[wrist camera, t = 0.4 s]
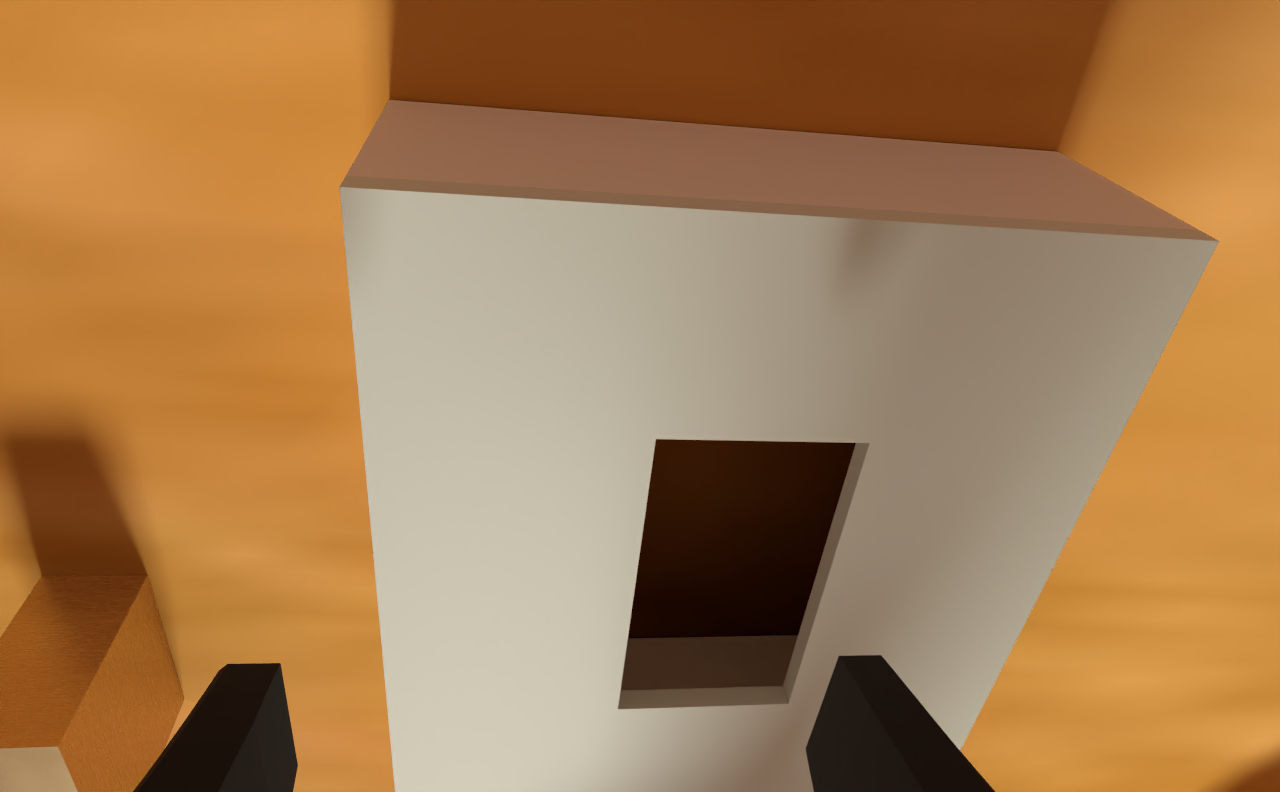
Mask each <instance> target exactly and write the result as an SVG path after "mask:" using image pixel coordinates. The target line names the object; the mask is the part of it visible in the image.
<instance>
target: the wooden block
mask: <svg viewBox="0 0 1280 792" xmlns="http://www.w3.org/2000/svg"><path fill="white" fill-rule="evenodd" d="M183 701H184V696H183V693H182V690H181V686H180V683H179V679H178V676H177V673H176V669H175V666H174V662H173V659H172V656H171V652H170V649H169V645H168V642H167V639H166V635H165V632H164V628H163V625H162V622H161V618H160V615H159V611H158V608H157V605H156V601H155V598H154V594H153V591H152V588H151V584H150V581H149V577H148V575H79V576H41V578H40V579H39V581H38V582H37V584H36V585H35V587H34V588H33V590H32V591H31V593H30V594H29V596H28V597H27V599H26V600H25V602H24V603H23V605H22V606H21V608H20V609H19V611H18V612H17V614H16V615H15V617H14V618H13V620H12V621H11V623H10V624H9V626H8V627H7V629H6V630H5V632H4V633H3V635H2V636H1V638H0V792H133V791H134V789H135V788H136V787H137V786H138V784H139V783H140V782H141V780H142V779H143V778H144V776H145V775H146V774H147V772H148V771H149V770H150V768H151V767H152V766H153V764H154V763H155V761H156V760H157V759H158V757H159V756H160V755H161V753H162V752H163V751H164V748H165V746H166V743H167V741H168V738H169V736H170V733H171V731H172V729H173V726H174V724H175V721H176V719H177V716H178V714H179V711H180V709H181V706H182V704H183Z"/></svg>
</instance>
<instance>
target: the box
mask: <svg viewBox="0 0 1280 792" xmlns="http://www.w3.org/2000/svg"><path fill="white" fill-rule="evenodd" d="M340 196H341V207H342V218H343V229H344V240H345V251H346V262H347V273H348V283H349V294H350V305H351V316H352V327H353V338H354V349H355V360H356V371H357V381H358V392H359V403H360V414H361V425H362V436H363V447H364V458H365V469H366V479H367V490H368V501H369V512H370V523H371V534H372V545H373V556H374V567H375V577H376V588H377V599H378V610H379V621H380V632H381V643H382V654H383V665H384V675H385V686H386V697H387V708H388V719H389V730H390V741H391V752H392V763H393V773H394V784H395V792H814V790H813V785H812V780H811V775H810V770H809V764H808V759H807V754H806V746H807V743H808V740H809V738H810V735H811V732H812V729H813V726H814V724H815V721H816V718H817V715H818V713H819V710H820V707H821V704H822V701H823V699H824V696H825V693H826V690H827V687H828V685H829V682H830V679H831V676H832V673H833V671H834V668H835V665H836V662H837V660H838V657H839V656H854V655H881V656H882V657H883V658H884V659H885V660H886V661H887V663H888V664H889V665H890V666H891V667H892V669H893V670H894V671H895V672H896V673H897V675H898V676H899V677H900V678H901V680H902V681H903V682H904V683H905V684H906V686H907V687H908V688H909V689H910V691H911V692H912V693H913V694H914V695H915V697H916V698H917V699H918V700H919V702H920V703H921V704H922V705H923V707H924V708H925V709H926V710H927V711H928V713H929V714H930V715H931V716H932V718H933V719H934V720H935V721H936V722H937V724H938V725H939V726H940V727H941V728H942V730H943V731H944V732H945V733H946V734H947V736H948V737H949V738H950V739H951V741H952V742H953V743H954V744H955V745H956V747H957V748H958V749H959V750H961V748H962V746H963V744H964V742H965V740H966V738H967V736H968V734H969V732H970V730H971V728H972V726H973V724H974V723H975V721H976V719H977V717H978V715H979V713H980V711H981V709H982V707H983V705H984V703H985V701H986V699H987V697H988V695H989V693H990V691H991V689H992V687H993V685H994V683H995V681H996V679H997V677H998V675H999V673H1000V671H1001V669H1002V667H1003V665H1004V663H1005V662H1006V660H1007V658H1008V656H1009V654H1010V652H1011V650H1012V648H1013V646H1014V644H1015V642H1016V640H1017V638H1018V636H1019V634H1020V632H1021V630H1022V628H1023V626H1024V624H1025V622H1026V620H1027V618H1028V616H1029V614H1030V612H1031V610H1032V608H1033V606H1034V604H1035V602H1036V600H1037V599H1038V597H1039V595H1040V593H1041V591H1042V589H1043V587H1044V585H1045V583H1046V581H1047V579H1048V577H1049V575H1050V573H1051V571H1052V569H1053V567H1054V565H1055V563H1056V561H1057V559H1058V557H1059V555H1060V553H1061V551H1062V549H1063V547H1064V545H1065V543H1066V541H1067V539H1068V538H1069V536H1070V534H1071V532H1072V530H1073V528H1074V526H1075V524H1076V522H1077V520H1078V518H1079V516H1080V514H1081V512H1082V510H1083V508H1084V506H1085V504H1086V502H1087V500H1088V498H1089V496H1090V494H1091V492H1092V490H1093V488H1094V486H1095V484H1096V482H1097V480H1098V478H1099V476H1100V475H1101V473H1102V471H1103V469H1104V467H1105V465H1106V463H1107V461H1108V459H1109V457H1110V455H1111V453H1112V451H1113V449H1114V447H1115V445H1116V443H1117V441H1118V439H1119V437H1120V435H1121V433H1122V431H1123V429H1124V427H1125V425H1126V423H1127V421H1128V419H1129V417H1130V415H1131V414H1132V412H1133V410H1134V408H1135V406H1136V404H1137V402H1138V400H1139V398H1140V396H1141V394H1142V392H1143V390H1144V388H1145V386H1146V384H1147V382H1148V380H1149V378H1150V376H1151V374H1152V372H1153V370H1154V368H1155V366H1156V364H1157V362H1158V360H1159V358H1160V356H1161V354H1162V352H1163V351H1164V349H1165V347H1166V345H1167V343H1168V341H1169V339H1170V337H1171V335H1172V333H1173V331H1174V329H1175V327H1176V325H1177V323H1178V321H1179V319H1180V317H1181V315H1182V313H1183V311H1184V309H1185V307H1186V305H1187V303H1188V301H1189V299H1190V297H1191V295H1192V293H1193V291H1194V290H1195V288H1196V286H1197V284H1198V282H1199V280H1200V278H1201V276H1202V274H1203V272H1204V270H1205V268H1206V266H1207V264H1208V262H1209V260H1210V258H1211V256H1212V254H1213V252H1214V250H1215V248H1216V246H1217V244H1218V242H1219V241H1218V240H1216V239H1214V238H1212V237H1211V236H1209V235H1207V234H1205V233H1203V232H1202V231H1200V230H1198V229H1196V228H1194V227H1193V226H1191V225H1189V224H1187V223H1185V222H1184V221H1182V220H1180V219H1178V218H1176V217H1175V216H1173V215H1171V214H1169V213H1167V212H1166V211H1164V210H1162V209H1160V208H1159V207H1157V206H1155V205H1153V204H1151V203H1150V202H1148V201H1146V200H1144V199H1142V198H1141V197H1139V196H1137V195H1135V194H1133V193H1132V192H1130V191H1128V190H1126V189H1124V188H1123V187H1121V186H1119V185H1117V184H1115V183H1114V182H1112V181H1110V180H1108V179H1106V178H1105V177H1103V176H1101V175H1099V174H1097V173H1096V172H1094V171H1092V170H1090V169H1088V168H1087V167H1085V166H1083V165H1081V164H1080V163H1078V162H1076V161H1074V160H1072V159H1071V158H1069V157H1067V156H1065V155H1063V154H1062V153H1060V152H1056V151H1043V150H1030V149H1018V148H1005V147H992V146H979V145H966V144H953V143H940V142H927V141H914V140H902V139H889V138H876V137H863V136H850V135H837V134H824V133H811V132H799V131H786V130H773V129H760V128H747V127H734V126H721V125H708V124H695V123H683V122H670V121H657V120H644V119H631V118H618V117H605V116H592V115H580V114H567V113H554V112H541V111H528V110H515V109H502V108H489V107H477V106H464V105H451V104H438V103H425V102H412V101H399V100H389V101H388V102H387V104H386V106H385V108H384V109H383V111H382V113H381V115H380V116H379V118H378V120H377V122H376V124H375V125H374V127H373V129H372V131H371V132H370V134H369V136H368V138H367V139H366V141H365V143H364V145H363V147H362V148H361V150H360V152H359V154H358V155H357V157H356V159H355V161H354V163H353V164H352V166H351V168H350V170H349V171H348V173H347V175H346V177H345V178H344V180H343V182H342V184H341V186H340ZM656 439H675V440H729V441H784V442H839V443H856V445H855V448H854V451H853V455H852V458H851V461H850V465H849V468H848V471H847V475H846V478H845V481H844V485H843V488H842V491H841V494H840V498H839V501H838V504H837V508H836V511H835V514H834V518H833V521H832V524H831V528H830V531H829V534H828V538H827V541H826V544H825V548H824V551H823V554H822V558H821V561H820V564H819V568H818V571H817V574H816V578H815V581H814V584H813V588H812V591H811V594H810V598H809V601H808V604H807V608H806V611H805V614H804V618H803V621H802V624H801V628H800V631H799V634H798V635H788V636H735V637H681V638H628V634H629V627H630V620H631V612H632V605H633V598H634V591H635V584H636V577H637V570H638V563H639V556H640V549H641V541H642V534H643V527H644V520H645V513H646V506H647V499H648V492H649V485H650V478H651V471H652V463H653V456H654V449H655V442H656Z"/></svg>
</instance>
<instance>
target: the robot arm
mask: <svg viewBox="0 0 1280 792" xmlns="http://www.w3.org/2000/svg"><path fill="white" fill-rule="evenodd" d="M806 754H807V759H808V764H809V770H810V775H811V780H812V785H813V790H814V792H995V791H994V790H993V789H992V787H991V786H990V785H989V784H988V783H987V782H986V781H985V779H984V778H983V777H982V776H981V775H980V774H979V773H978V771H977V770H976V769H975V768H974V767H973V766H972V764H971V763H970V762H969V761H968V760H967V758H966V757H965V756H964V755H963V754H962V753H961V751H960V750H959V749H958V748H957V747H956V745H955V744H954V743H953V742H952V741H951V739H950V738H949V737H948V736H947V734H946V733H945V732H944V731H943V730H942V728H941V727H940V726H939V725H938V724H937V722H936V721H935V720H934V719H933V718H932V716H931V715H930V714H929V713H928V711H927V710H926V709H925V708H924V707H923V705H922V704H921V703H920V702H919V700H918V699H917V698H916V697H915V695H914V694H913V693H912V692H911V691H910V689H909V688H908V687H907V686H906V684H905V683H904V682H903V681H902V680H901V678H900V677H899V676H898V675H897V673H896V672H895V671H894V670H893V669H892V667H891V666H890V665H889V664H888V663H887V661H886V660H885V659H884V658H883V657H882V656H881V655H854V656H839V657H838V660H837V662H836V665H835V668H834V671H833V673H832V676H831V679H830V682H829V685H828V687H827V690H826V693H825V696H824V699H823V701H822V704H821V707H820V710H819V713H818V715H817V718H816V721H815V724H814V726H813V729H812V732H811V735H810V738H809V740H808V743H807V746H806ZM297 766H298V764H297V758H296V753H295V747H294V741H293V735H292V729H291V723H290V717H289V711H288V705H287V699H286V694H285V688H284V682H283V676H282V670H281V664H280V663H269V664H227V665H226V666H224V667H223V668H222V669H220V670H219V671H218V673H217V674H216V676H215V677H214V679H213V680H212V682H211V683H210V685H209V686H208V688H207V689H206V691H205V692H204V694H203V695H202V697H201V698H200V700H199V701H198V703H197V704H196V706H195V707H194V708H193V710H192V711H191V713H190V714H189V716H188V717H187V719H186V720H185V721H184V723H183V724H182V726H181V727H180V728H179V730H178V731H177V733H176V734H175V735H174V737H173V738H172V740H171V741H170V742H169V744H168V745H167V747H166V748H165V749H164V751H163V752H162V753H161V755H160V756H159V757H158V759H157V760H156V761H155V763H154V764H153V766H152V767H151V768H150V770H149V771H148V772H147V774H146V775H145V776H144V778H143V779H142V780H141V782H140V783H139V784H138V786H137V787H136V788H135V789H134V791H133V792H293V788H294V783H295V777H296V772H297Z"/></svg>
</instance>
